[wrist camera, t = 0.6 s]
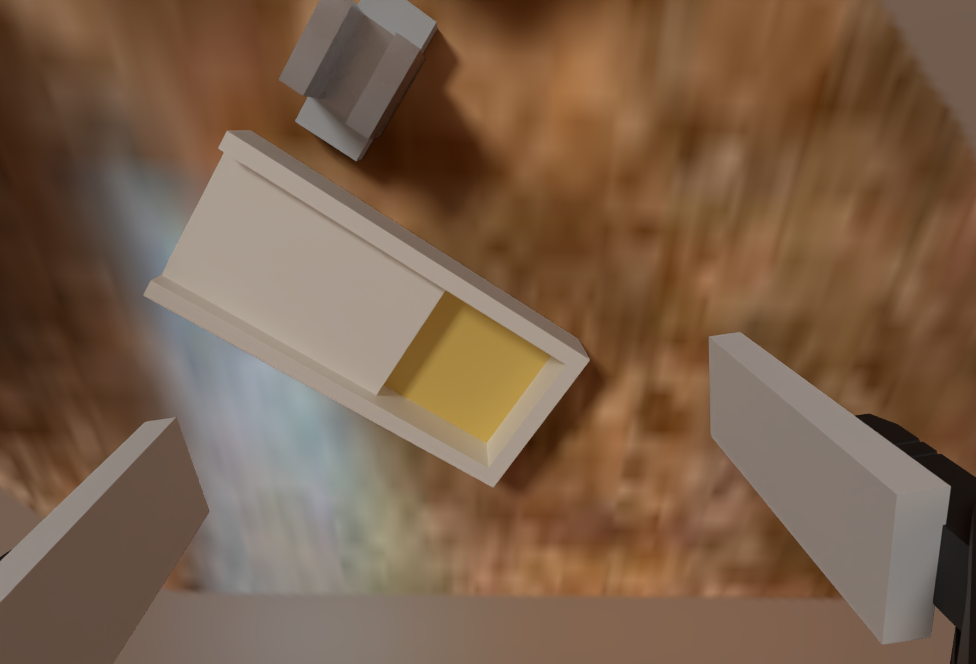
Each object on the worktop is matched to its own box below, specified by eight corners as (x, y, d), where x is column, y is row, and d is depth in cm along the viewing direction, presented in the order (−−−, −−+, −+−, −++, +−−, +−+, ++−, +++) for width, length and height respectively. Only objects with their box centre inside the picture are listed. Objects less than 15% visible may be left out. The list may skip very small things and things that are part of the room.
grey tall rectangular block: (304, 121, 33) (294, 121, 31) (378, -16, 31) (373, -25, 29) (361, 159, 34) (356, 161, 32) (437, 28, 32) (436, 22, 30)
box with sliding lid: (173, 279, 36) (142, 295, 32) (250, 130, 33) (226, 130, 30) (490, 457, 40) (493, 487, 37) (578, 338, 38) (590, 359, 35)
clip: (303, 85, 31) (278, 79, 26) (347, 3, 30) (328, -17, 25) (380, 137, 32) (368, 139, 27) (425, 59, 31) (420, 48, 26)
